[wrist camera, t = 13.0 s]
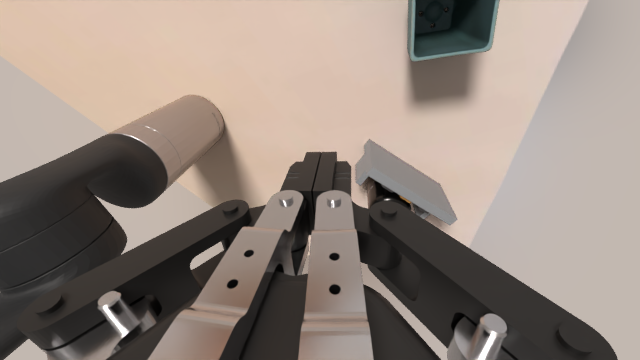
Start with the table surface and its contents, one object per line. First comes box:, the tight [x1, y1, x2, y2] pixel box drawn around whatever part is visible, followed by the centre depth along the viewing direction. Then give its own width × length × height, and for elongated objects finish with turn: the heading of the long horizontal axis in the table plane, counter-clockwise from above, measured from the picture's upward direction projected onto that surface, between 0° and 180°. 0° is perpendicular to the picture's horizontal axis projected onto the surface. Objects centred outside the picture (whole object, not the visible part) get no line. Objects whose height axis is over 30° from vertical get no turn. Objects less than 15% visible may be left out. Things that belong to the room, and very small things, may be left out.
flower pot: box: [407, 0, 500, 62], centre depth 32 cm, size 9×9×9 cm
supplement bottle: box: [367, 177, 411, 211], centre depth 46 cm, size 7×7×12 cm
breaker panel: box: [356, 139, 457, 225], centre depth 45 cm, size 6×16×10 cm, turn 59°
